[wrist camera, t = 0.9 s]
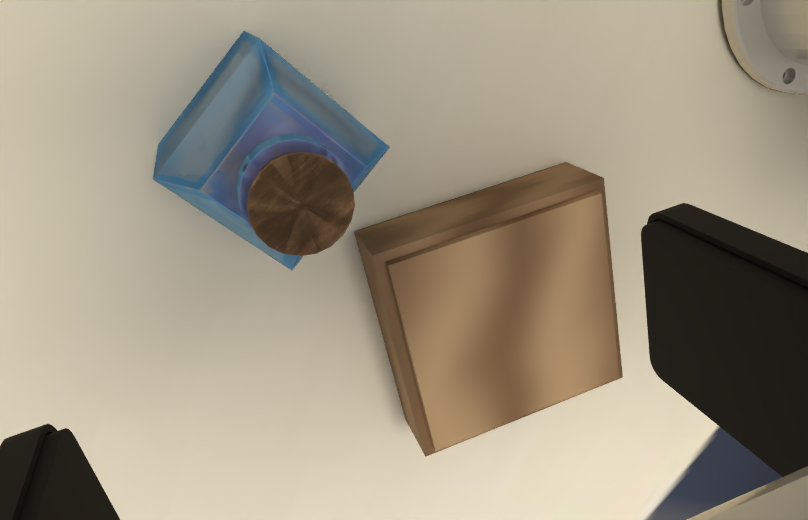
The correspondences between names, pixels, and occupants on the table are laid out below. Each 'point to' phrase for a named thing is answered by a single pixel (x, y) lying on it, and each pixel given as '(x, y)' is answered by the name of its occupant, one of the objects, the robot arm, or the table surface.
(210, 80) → the perfume bottle
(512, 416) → the pedestal
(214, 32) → the table surface
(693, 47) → the table surface
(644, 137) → the table surface
